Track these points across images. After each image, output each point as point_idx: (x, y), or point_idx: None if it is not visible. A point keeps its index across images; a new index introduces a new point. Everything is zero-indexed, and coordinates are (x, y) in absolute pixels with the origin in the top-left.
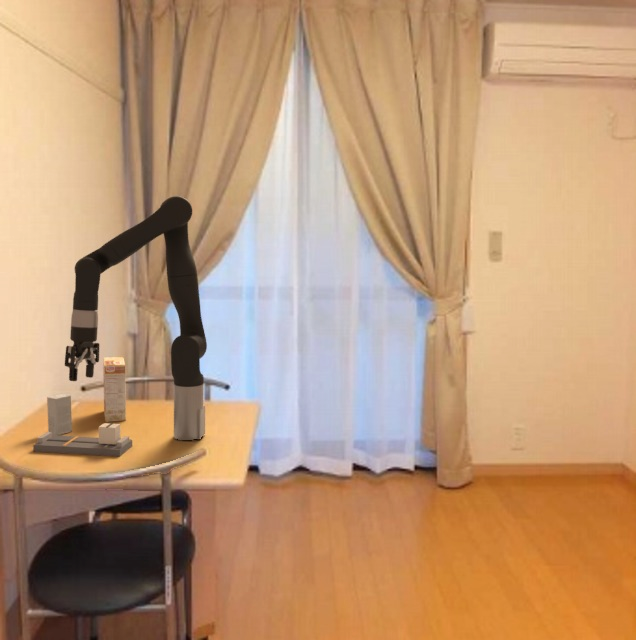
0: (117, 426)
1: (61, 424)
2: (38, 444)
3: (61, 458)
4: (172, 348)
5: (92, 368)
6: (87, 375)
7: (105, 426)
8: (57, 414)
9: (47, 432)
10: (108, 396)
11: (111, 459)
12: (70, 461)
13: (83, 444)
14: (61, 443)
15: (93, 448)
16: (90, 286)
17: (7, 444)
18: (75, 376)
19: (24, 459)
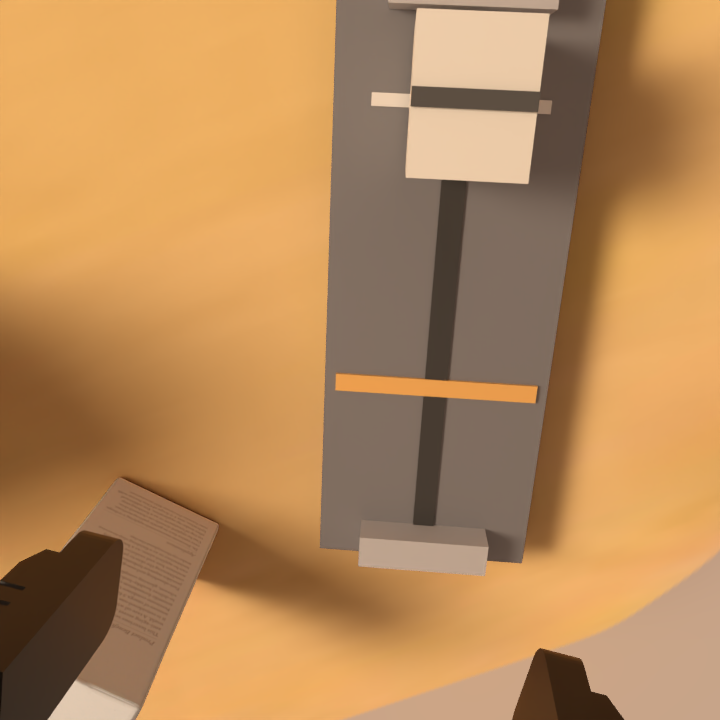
0: (492, 11)
1: (169, 545)
2: (515, 539)
3: (639, 352)
4: None
5: (40, 631)
6: (103, 616)
7: (509, 126)
8: (171, 607)
9: (367, 560)
10: None
11: (663, 16)
12: (699, 280)
13: (496, 284)
14: (484, 425)
15: (578, 184)
16: None
17: (406, 690)
18: (593, 716)
19: (656, 533)
